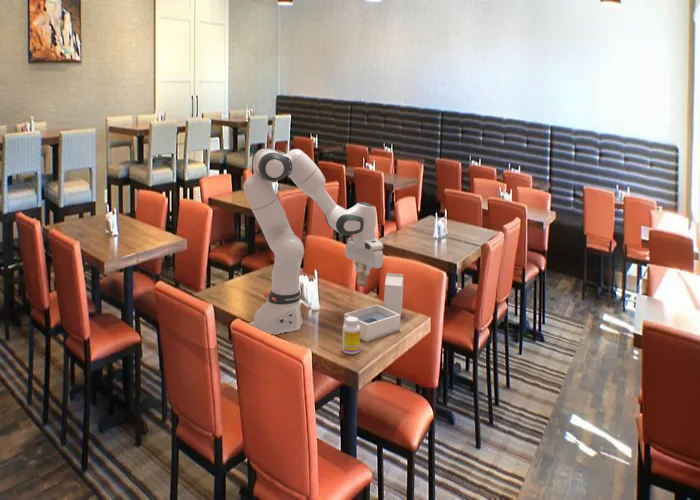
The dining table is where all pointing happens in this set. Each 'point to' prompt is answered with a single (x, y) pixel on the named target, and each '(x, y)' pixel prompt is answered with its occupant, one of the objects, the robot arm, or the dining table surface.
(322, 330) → the dining table surface
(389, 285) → the milk carton
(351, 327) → the supplement bottle
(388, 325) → the socket box
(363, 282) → the peg
